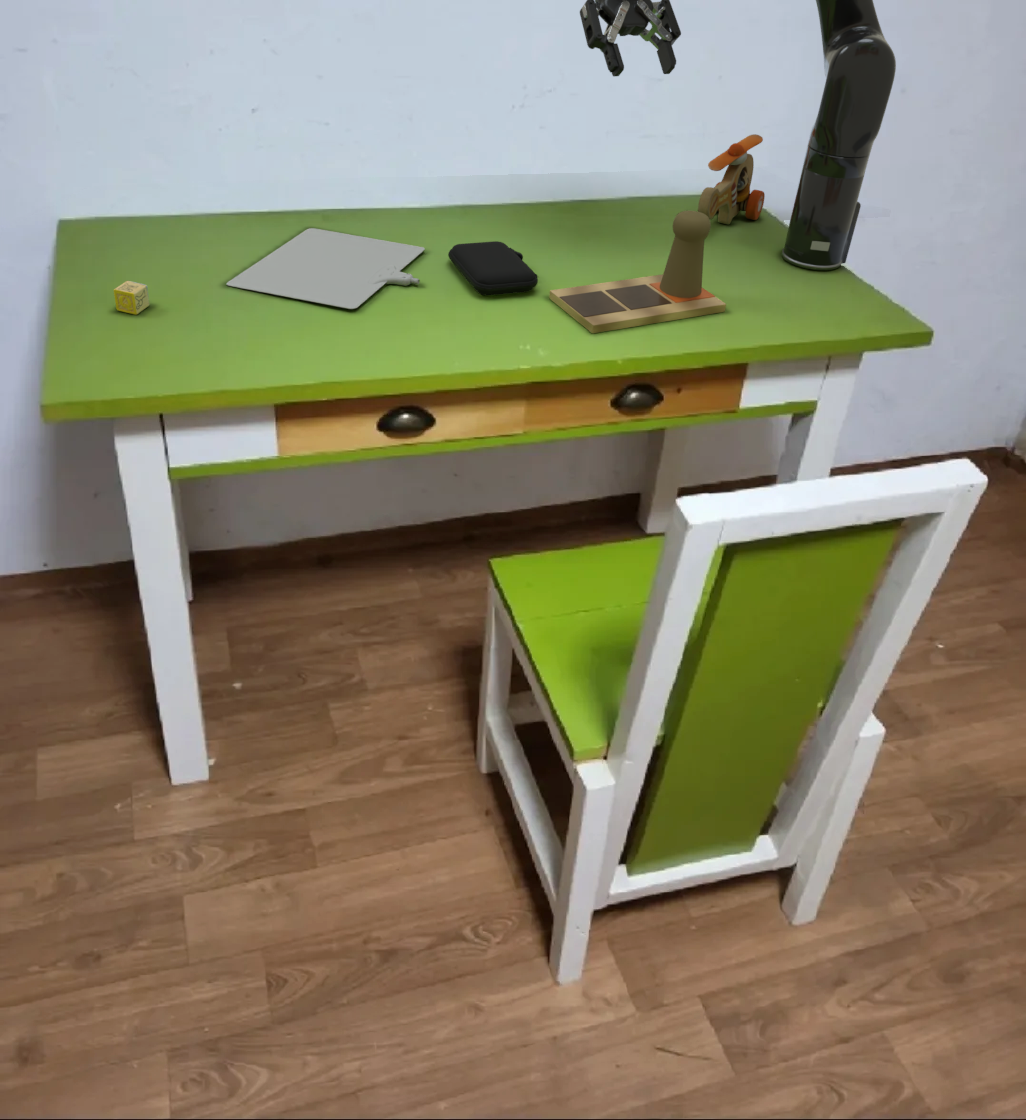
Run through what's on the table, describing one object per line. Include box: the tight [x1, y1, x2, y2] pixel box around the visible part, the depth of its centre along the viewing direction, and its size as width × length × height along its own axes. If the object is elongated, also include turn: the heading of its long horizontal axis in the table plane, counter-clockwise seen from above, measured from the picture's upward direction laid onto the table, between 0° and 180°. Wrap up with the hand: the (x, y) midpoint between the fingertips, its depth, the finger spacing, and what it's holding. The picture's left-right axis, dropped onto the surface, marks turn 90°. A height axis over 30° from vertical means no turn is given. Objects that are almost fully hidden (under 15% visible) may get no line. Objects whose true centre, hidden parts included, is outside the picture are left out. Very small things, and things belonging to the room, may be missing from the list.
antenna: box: [226, 227, 426, 310], centre depth 152 cm, size 25×24×1 cm
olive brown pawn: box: [660, 210, 712, 298], centre depth 149 cm, size 6×6×11 cm
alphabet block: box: [113, 280, 150, 316], centre depth 136 cm, size 3×3×3 cm
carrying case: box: [447, 240, 539, 297], centre depth 153 cm, size 11×3×15 cm
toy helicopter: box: [697, 134, 766, 225], centre depth 175 cm, size 8×21×14 cm, turn 150°
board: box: [548, 273, 727, 334], centre depth 149 cm, size 22×12×1 cm, turn 117°
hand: (644, 72), depth 148 cm, fingers open, 8 cm apart
